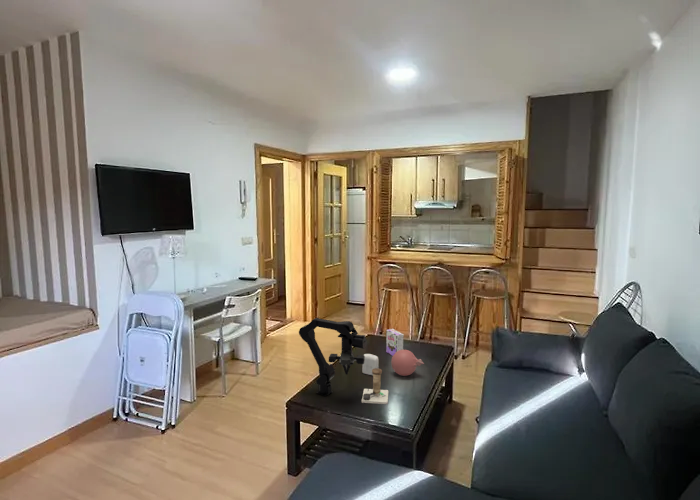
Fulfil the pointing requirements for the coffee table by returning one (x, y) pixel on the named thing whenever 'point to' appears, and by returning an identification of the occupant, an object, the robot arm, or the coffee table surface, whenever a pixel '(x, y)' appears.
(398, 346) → the candy box
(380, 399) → the dial board
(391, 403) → the coffee table surface
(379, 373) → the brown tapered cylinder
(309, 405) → the coffee table surface
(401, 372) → the balloon
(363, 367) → the photo printer
